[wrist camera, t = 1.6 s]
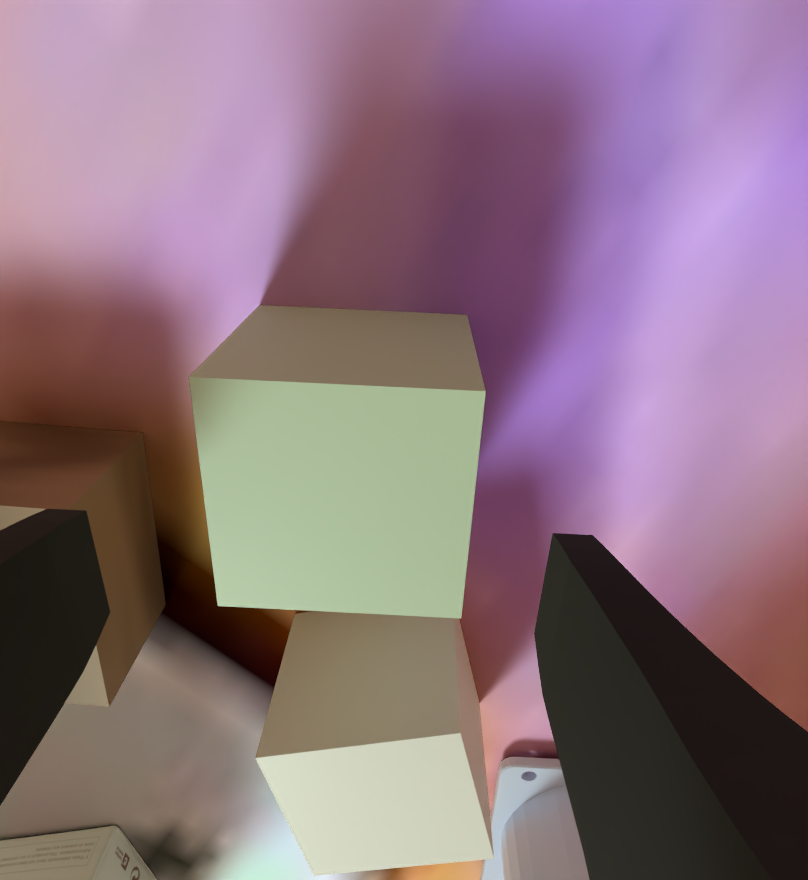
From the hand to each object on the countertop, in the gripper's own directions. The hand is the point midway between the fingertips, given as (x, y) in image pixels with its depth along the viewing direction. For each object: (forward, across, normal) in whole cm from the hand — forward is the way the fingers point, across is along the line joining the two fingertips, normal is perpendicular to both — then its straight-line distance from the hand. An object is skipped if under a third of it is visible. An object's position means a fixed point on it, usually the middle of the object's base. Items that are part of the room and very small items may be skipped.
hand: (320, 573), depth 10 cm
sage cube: (+7, 0, 0) cm, 7 cm away
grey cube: (+7, -1, +9) cm, 11 cm away
